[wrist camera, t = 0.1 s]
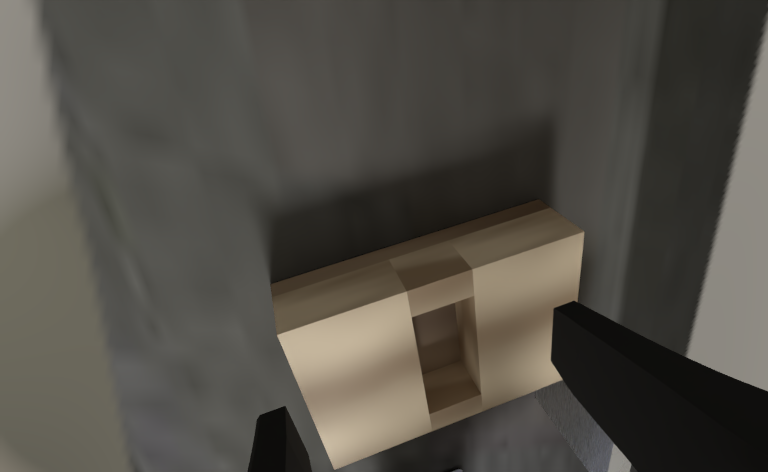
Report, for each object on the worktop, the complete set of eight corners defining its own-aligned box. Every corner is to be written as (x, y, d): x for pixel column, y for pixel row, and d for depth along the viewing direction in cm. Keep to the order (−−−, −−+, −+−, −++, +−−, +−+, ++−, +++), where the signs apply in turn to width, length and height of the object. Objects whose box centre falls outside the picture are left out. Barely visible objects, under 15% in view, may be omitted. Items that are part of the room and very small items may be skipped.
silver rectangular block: (554, 389, 32) (626, 481, 26) (534, 397, 31) (603, 491, 26) (558, 342, 29) (639, 432, 23) (536, 350, 29) (613, 443, 23)
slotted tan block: (534, 335, 28) (569, 376, 25) (322, 414, 26) (334, 469, 23) (538, 199, 22) (584, 231, 20) (270, 284, 20) (277, 335, 17)
